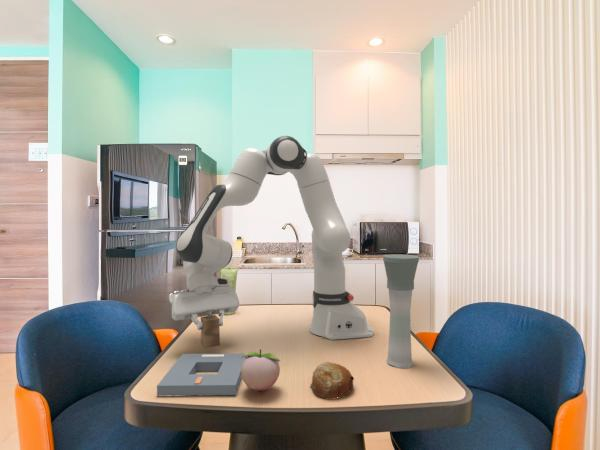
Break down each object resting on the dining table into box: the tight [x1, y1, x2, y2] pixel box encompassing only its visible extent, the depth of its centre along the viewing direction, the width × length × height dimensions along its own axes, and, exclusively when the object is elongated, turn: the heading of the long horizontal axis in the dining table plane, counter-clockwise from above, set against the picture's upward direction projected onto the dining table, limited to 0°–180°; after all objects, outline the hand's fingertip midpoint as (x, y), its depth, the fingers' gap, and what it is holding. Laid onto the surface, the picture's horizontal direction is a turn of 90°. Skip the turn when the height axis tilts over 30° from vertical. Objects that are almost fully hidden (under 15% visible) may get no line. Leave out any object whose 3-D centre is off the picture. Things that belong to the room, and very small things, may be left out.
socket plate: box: [156, 352, 247, 396], centre depth 88 cm, size 18×18×3 cm
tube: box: [219, 266, 239, 316], centre depth 145 cm, size 6×5×20 cm
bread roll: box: [309, 361, 355, 400], centre depth 83 cm, size 10×10×8 cm
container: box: [382, 253, 420, 369], centre depth 97 cm, size 10×10×30 cm
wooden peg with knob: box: [200, 309, 221, 349], centre depth 103 cm, size 4×4×10 cm
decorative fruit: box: [241, 349, 281, 392], centre depth 81 cm, size 9×8×10 cm
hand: (210, 327), depth 102 cm, fingers closed on wooden peg with knob, 4 cm apart
